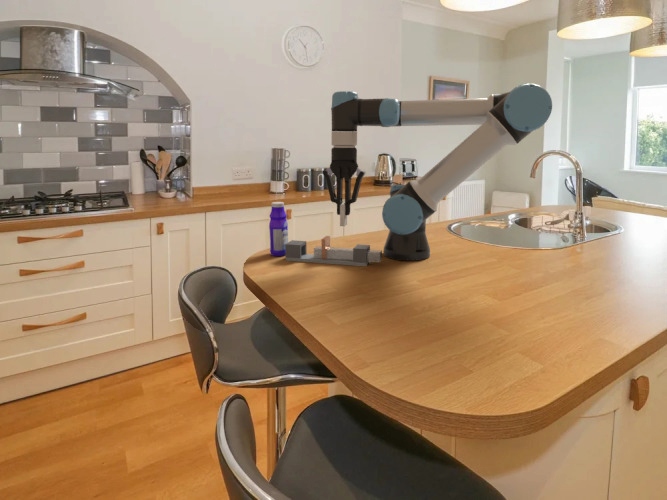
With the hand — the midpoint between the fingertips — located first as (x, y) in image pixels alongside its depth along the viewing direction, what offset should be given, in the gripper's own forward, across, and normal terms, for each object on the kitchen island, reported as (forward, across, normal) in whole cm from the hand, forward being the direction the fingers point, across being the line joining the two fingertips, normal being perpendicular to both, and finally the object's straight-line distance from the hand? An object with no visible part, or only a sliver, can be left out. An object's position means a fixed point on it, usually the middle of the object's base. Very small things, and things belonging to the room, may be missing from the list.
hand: (343, 225), depth 145 cm
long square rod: (+10, -1, 0) cm, 11 cm away
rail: (+12, +5, 0) cm, 13 cm away
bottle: (+12, +23, -4) cm, 26 cm away
